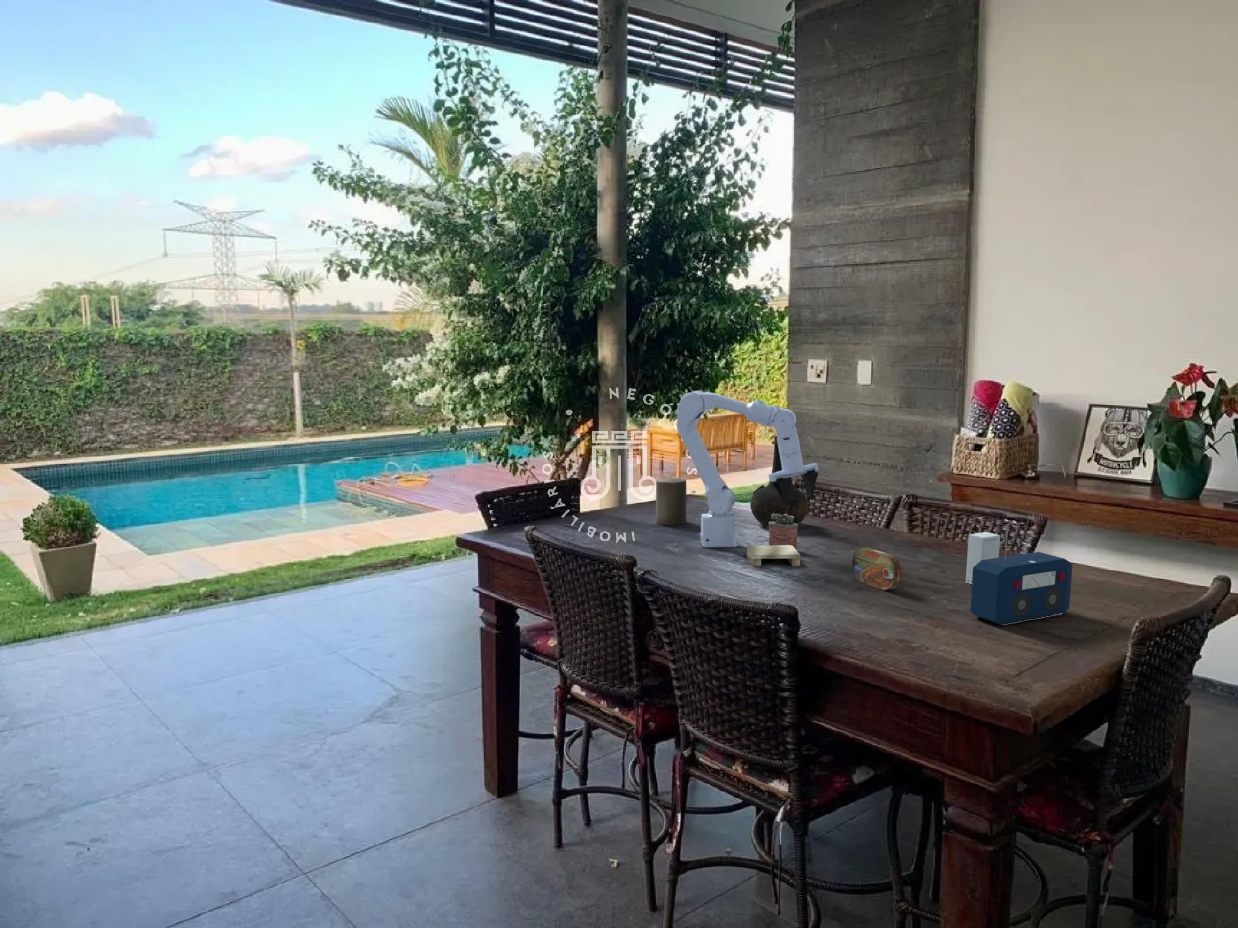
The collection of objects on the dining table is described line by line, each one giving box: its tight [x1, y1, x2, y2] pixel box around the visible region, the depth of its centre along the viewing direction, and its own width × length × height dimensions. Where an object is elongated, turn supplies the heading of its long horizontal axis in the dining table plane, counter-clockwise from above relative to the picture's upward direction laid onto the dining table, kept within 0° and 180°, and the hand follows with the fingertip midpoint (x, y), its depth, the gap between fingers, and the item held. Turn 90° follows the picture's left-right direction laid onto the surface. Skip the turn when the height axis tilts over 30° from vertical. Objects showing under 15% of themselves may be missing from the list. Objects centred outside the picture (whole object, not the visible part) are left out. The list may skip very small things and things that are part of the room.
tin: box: [851, 547, 903, 591], centre depth 206 cm, size 15×3×8 cm, turn 23°
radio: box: [970, 524, 1073, 625], centre depth 182 cm, size 21×9×20 cm, turn 114°
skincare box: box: [965, 531, 1001, 585], centre depth 206 cm, size 6×4×12 cm
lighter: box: [768, 514, 799, 551], centre depth 240 cm, size 8×3×10 cm, turn 65°
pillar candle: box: [655, 475, 687, 527], centre depth 276 cm, size 10×10×15 cm
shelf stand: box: [746, 544, 801, 567], centre depth 229 cm, size 12×10×3 cm
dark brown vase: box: [749, 435, 810, 528], centre depth 270 cm, size 18×18×28 cm
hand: (798, 501), depth 239 cm, fingers open, 7 cm apart
